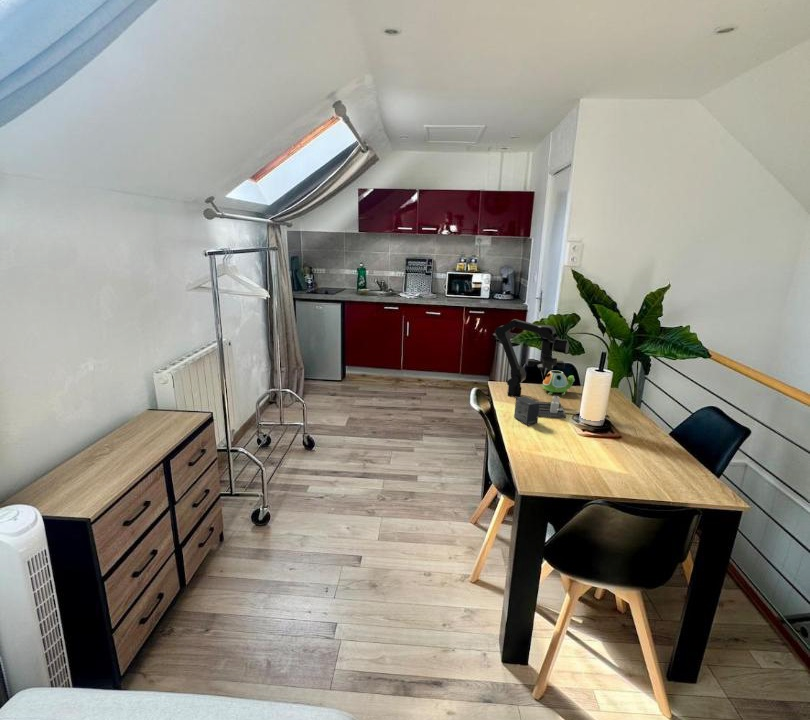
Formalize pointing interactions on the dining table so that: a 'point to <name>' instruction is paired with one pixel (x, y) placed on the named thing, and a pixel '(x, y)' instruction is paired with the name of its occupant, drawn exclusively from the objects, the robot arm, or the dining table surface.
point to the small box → (526, 410)
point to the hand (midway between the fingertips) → (543, 379)
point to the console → (545, 410)
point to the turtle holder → (557, 382)
